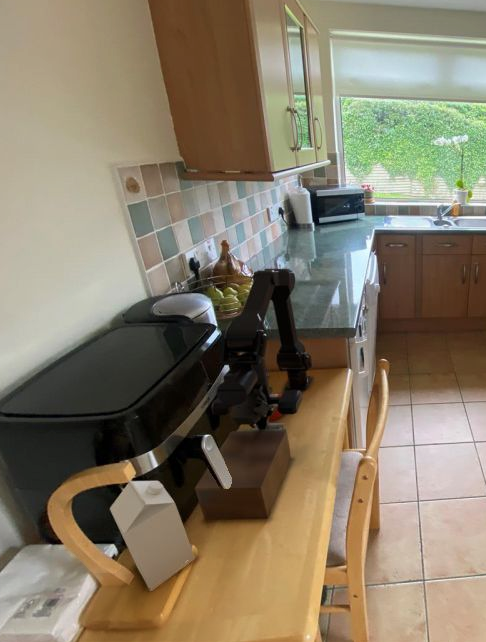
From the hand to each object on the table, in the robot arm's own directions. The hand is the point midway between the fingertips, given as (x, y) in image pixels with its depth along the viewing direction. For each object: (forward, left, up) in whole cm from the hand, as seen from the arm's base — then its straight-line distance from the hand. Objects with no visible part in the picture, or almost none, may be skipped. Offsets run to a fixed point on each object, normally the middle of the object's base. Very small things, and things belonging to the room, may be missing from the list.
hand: (264, 430), depth 90 cm
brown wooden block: (+10, 0, -7) cm, 12 cm away
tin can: (-14, -3, -7) cm, 16 cm away
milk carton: (+26, -9, -7) cm, 29 cm away
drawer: (+6, 0, -6) cm, 8 cm away
